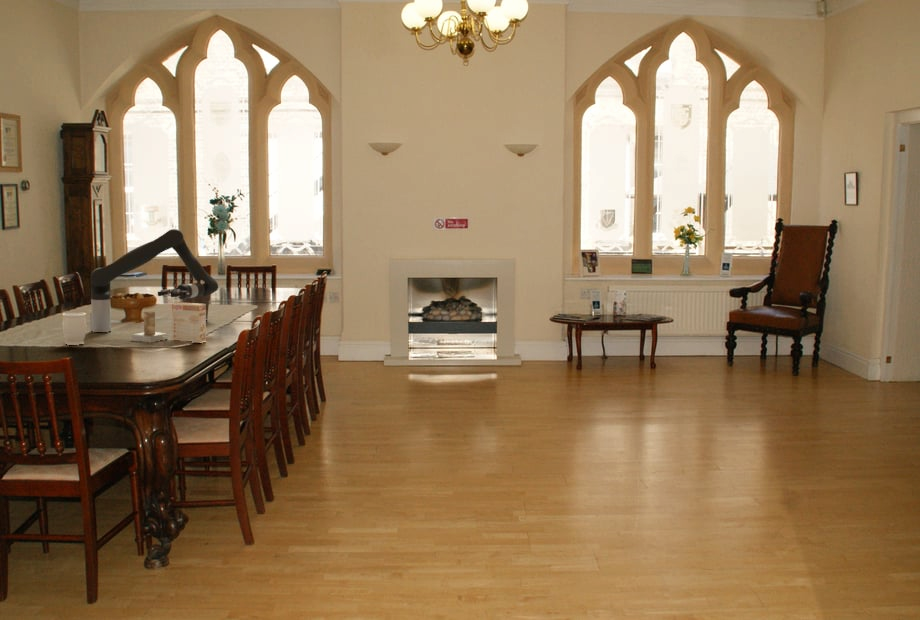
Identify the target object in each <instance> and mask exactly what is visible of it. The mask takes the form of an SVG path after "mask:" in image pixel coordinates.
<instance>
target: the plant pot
mask: <svg viewBox="0 0 920 620" xmlns="http://www.w3.org/2000/svg"><path fill="white" fill-rule="evenodd" d="M210 299H211V295H209V296H206V297H201V296H197V297H193V298H187V299H182V302H183V303H199V304H206V319H207V320H208V316H209V315H208V314H209V303H210Z"/></svg>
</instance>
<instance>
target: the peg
mask: <svg viewBox="0 0 920 620" xmlns="http://www.w3.org/2000/svg"><path fill="white" fill-rule="evenodd" d="M143 326H144V328H143V330H144V331H143V332H144V334H146V335H153V334H155V332H156V312H155V311H154V310H153V311H152V310H148V311H144V312H143Z"/></svg>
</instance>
